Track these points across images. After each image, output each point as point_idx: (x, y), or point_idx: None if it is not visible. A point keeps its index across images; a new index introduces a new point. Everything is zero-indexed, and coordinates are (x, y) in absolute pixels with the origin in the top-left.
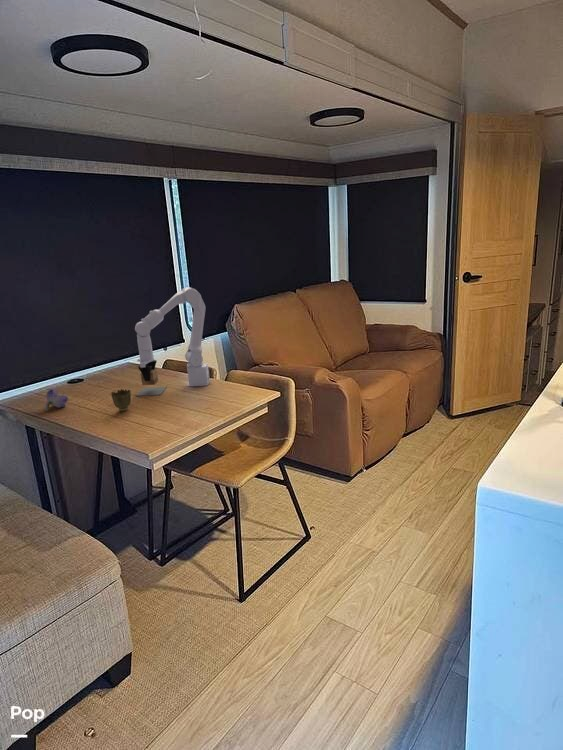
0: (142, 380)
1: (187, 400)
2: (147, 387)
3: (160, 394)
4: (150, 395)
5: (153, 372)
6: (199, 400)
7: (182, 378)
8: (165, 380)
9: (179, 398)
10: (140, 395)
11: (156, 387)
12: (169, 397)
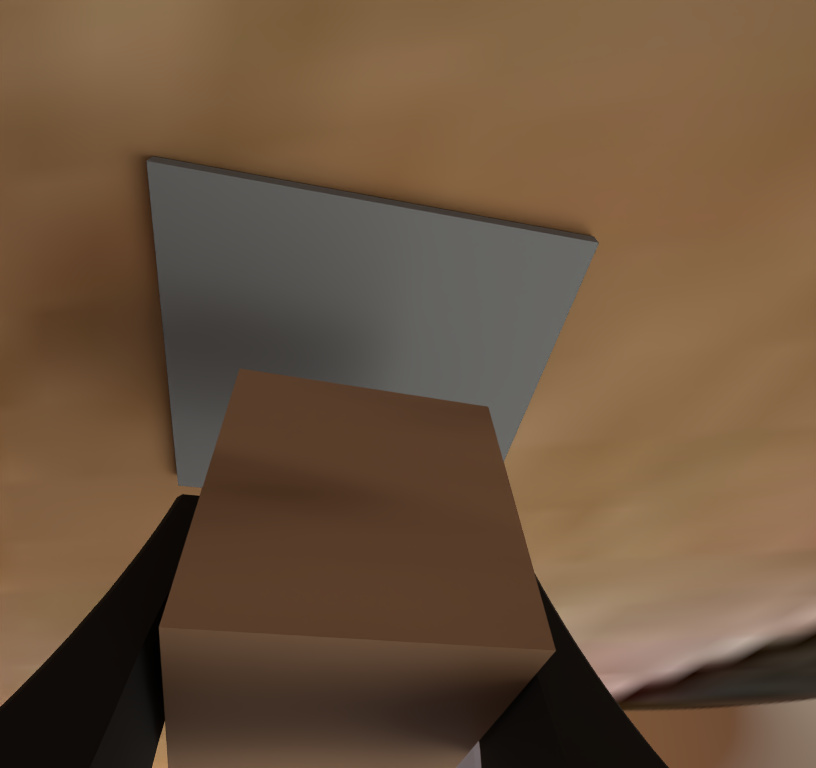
0: (219, 454)
1: (2, 647)
2: (565, 313)
3: (179, 481)
4: (172, 377)
5: (216, 764)
6: (11, 693)
7: (717, 591)
8: (786, 474)
9: (56, 607)
10: (157, 245)
11: (496, 423)
12: (88, 547)
